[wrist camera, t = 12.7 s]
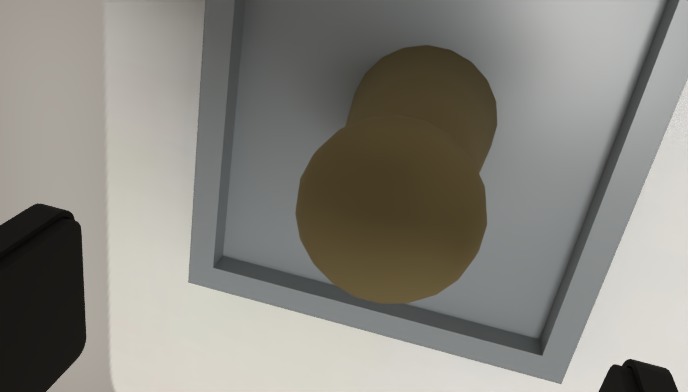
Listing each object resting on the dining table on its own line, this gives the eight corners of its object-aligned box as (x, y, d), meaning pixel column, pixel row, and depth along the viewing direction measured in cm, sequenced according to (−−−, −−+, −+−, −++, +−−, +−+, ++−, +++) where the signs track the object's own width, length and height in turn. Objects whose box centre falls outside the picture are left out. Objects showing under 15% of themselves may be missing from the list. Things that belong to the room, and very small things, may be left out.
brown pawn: (332, 156, 26) (239, 287, 16) (378, 22, 24) (301, 82, 14) (461, 207, 26) (446, 373, 16) (523, 77, 23) (551, 180, 13)
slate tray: (239, -187, 22) (217, -198, 21) (740, -106, 20) (765, -110, 18) (205, 262, 31) (188, 282, 29) (556, 356, 29) (561, 384, 27)
